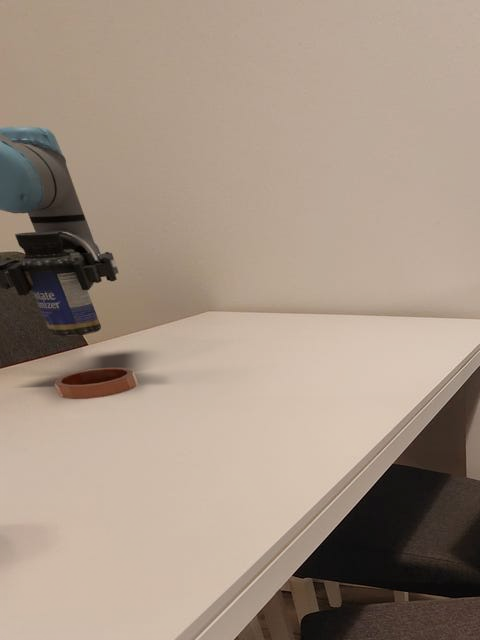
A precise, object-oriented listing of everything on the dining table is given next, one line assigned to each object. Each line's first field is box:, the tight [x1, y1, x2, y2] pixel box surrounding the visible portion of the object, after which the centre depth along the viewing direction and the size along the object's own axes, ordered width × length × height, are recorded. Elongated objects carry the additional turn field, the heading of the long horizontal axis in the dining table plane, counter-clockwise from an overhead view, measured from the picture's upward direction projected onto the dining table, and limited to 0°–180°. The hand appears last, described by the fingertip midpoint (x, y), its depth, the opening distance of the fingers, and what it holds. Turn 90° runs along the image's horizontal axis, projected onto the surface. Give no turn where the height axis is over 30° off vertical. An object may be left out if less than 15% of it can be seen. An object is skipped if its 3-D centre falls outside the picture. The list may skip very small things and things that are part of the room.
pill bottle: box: [14, 231, 102, 338], centre depth 75 cm, size 6×6×11 cm
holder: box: [54, 367, 139, 400], centre depth 83 cm, size 10×10×4 cm
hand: (49, 279), depth 71 cm, fingers closed on pill bottle, 6 cm apart
